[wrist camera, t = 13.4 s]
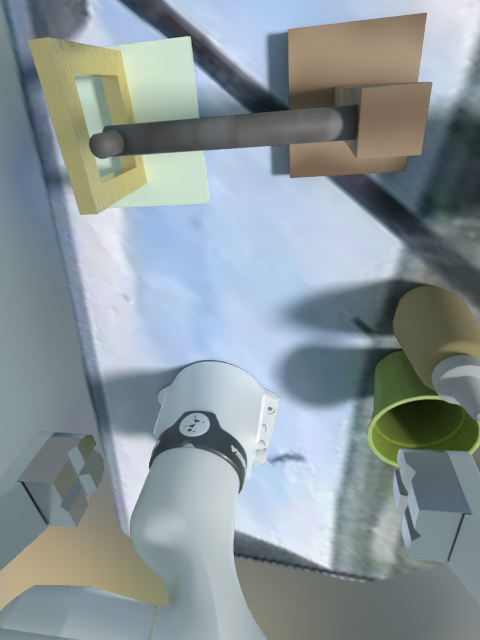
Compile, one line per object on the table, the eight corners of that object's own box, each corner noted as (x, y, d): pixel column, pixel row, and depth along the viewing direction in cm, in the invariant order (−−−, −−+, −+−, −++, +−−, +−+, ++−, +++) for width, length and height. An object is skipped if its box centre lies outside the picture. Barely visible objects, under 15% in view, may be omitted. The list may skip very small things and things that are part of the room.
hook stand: (400, 167, 38) (495, 248, 19) (203, 179, 41) (118, 256, 23) (420, 16, 32) (587, -84, 13) (186, 44, 35) (49, -4, 16)
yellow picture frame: (147, 183, 42) (97, 213, 32) (133, 183, 42) (80, 214, 32) (120, 50, 36) (48, 37, 26) (105, 52, 36) (27, 40, 26)
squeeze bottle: (452, 334, 47) (523, 452, 32) (383, 334, 48) (419, 448, 33) (465, 274, 43) (553, 377, 28) (389, 277, 44) (434, 376, 29)
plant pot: (340, 356, 51) (349, 418, 42) (430, 320, 46) (462, 380, 37) (377, 413, 55) (392, 481, 46) (462, 386, 51) (499, 455, 41)
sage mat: (210, 201, 43) (209, 203, 42) (87, 207, 45) (85, 209, 45) (190, 36, 35) (188, 36, 34) (44, 54, 37) (40, 54, 37)
